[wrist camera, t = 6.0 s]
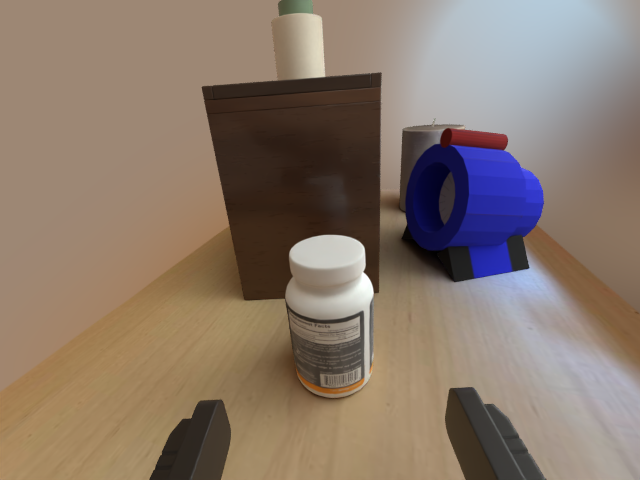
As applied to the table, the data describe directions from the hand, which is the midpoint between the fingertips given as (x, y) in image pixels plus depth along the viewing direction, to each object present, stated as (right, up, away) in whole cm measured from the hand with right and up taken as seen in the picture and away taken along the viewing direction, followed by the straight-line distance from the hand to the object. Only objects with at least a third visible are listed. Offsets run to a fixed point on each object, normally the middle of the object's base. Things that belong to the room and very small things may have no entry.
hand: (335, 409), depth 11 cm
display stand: (-1, +7, +36) cm, 37 cm away
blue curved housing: (+18, +5, +28) cm, 33 cm away
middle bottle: (-3, +24, +28) cm, 38 cm away
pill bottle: (+1, -4, +12) cm, 12 cm away
